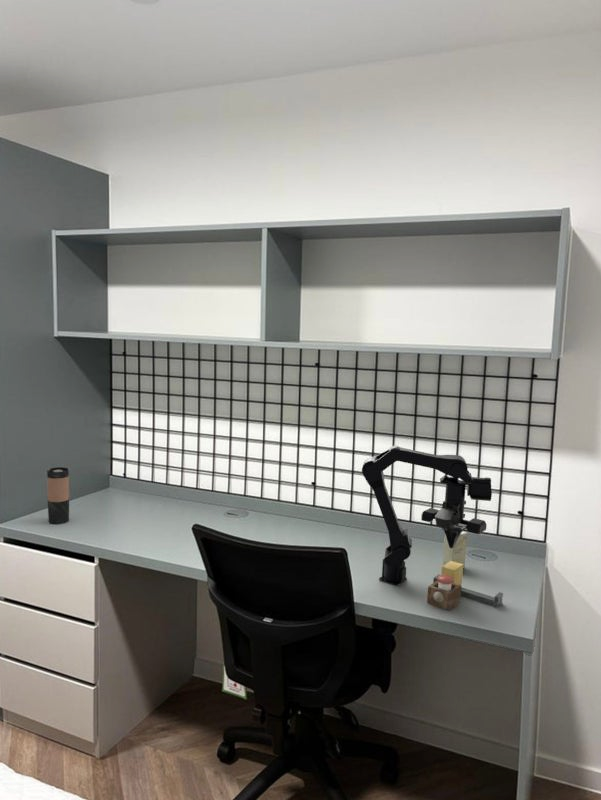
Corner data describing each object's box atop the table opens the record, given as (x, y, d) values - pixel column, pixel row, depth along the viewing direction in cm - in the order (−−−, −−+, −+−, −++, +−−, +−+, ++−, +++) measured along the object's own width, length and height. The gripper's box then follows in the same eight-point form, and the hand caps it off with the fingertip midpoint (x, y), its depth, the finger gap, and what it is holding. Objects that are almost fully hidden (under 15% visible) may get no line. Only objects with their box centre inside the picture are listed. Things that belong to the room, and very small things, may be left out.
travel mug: (72, 522, 242) (71, 470, 239) (52, 525, 237) (51, 473, 234) (65, 516, 248) (64, 466, 245) (45, 520, 243) (43, 468, 240)
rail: (432, 587, 194) (433, 577, 194) (438, 584, 197) (438, 574, 196) (497, 608, 182) (498, 597, 181) (502, 603, 185) (502, 593, 184)
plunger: (433, 600, 184) (434, 578, 183) (440, 595, 187) (441, 573, 186) (447, 605, 181) (449, 582, 180) (454, 600, 184) (455, 577, 183)
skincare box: (452, 572, 206) (454, 535, 205) (441, 567, 210) (444, 531, 208) (465, 568, 210) (467, 532, 208) (454, 563, 213) (457, 528, 212)
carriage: (440, 590, 191) (442, 566, 190) (449, 584, 196) (450, 560, 195) (452, 594, 189) (454, 570, 188) (461, 588, 193) (463, 564, 192)
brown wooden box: (426, 603, 183) (427, 586, 182) (438, 595, 189) (439, 578, 188) (449, 611, 179) (450, 594, 178) (460, 602, 185) (461, 585, 184)
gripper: (414, 497, 191) (411, 547, 194) (473, 510, 180) (469, 563, 182) (431, 489, 200) (428, 537, 202) (488, 502, 189) (485, 553, 191)
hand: (451, 547), depth 194 cm, fingers closed
